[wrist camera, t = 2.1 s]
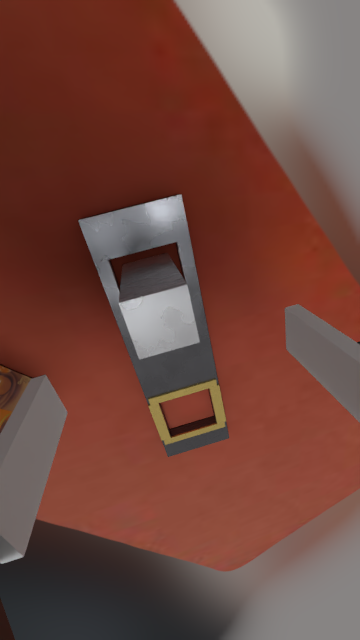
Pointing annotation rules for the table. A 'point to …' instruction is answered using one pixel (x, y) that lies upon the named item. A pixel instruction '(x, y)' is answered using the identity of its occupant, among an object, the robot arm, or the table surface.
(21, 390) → the candy box
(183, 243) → the rail
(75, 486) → the table surface
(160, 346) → the steel block
